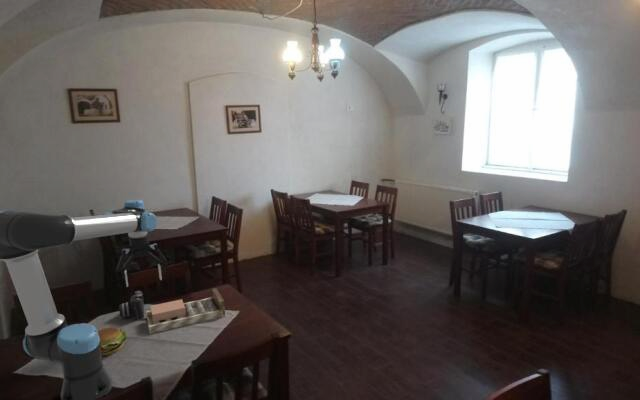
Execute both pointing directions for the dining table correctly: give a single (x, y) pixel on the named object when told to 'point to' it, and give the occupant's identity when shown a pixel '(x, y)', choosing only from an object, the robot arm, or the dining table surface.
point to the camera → (133, 306)
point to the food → (111, 340)
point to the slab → (167, 310)
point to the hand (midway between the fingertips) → (144, 282)
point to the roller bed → (184, 320)
